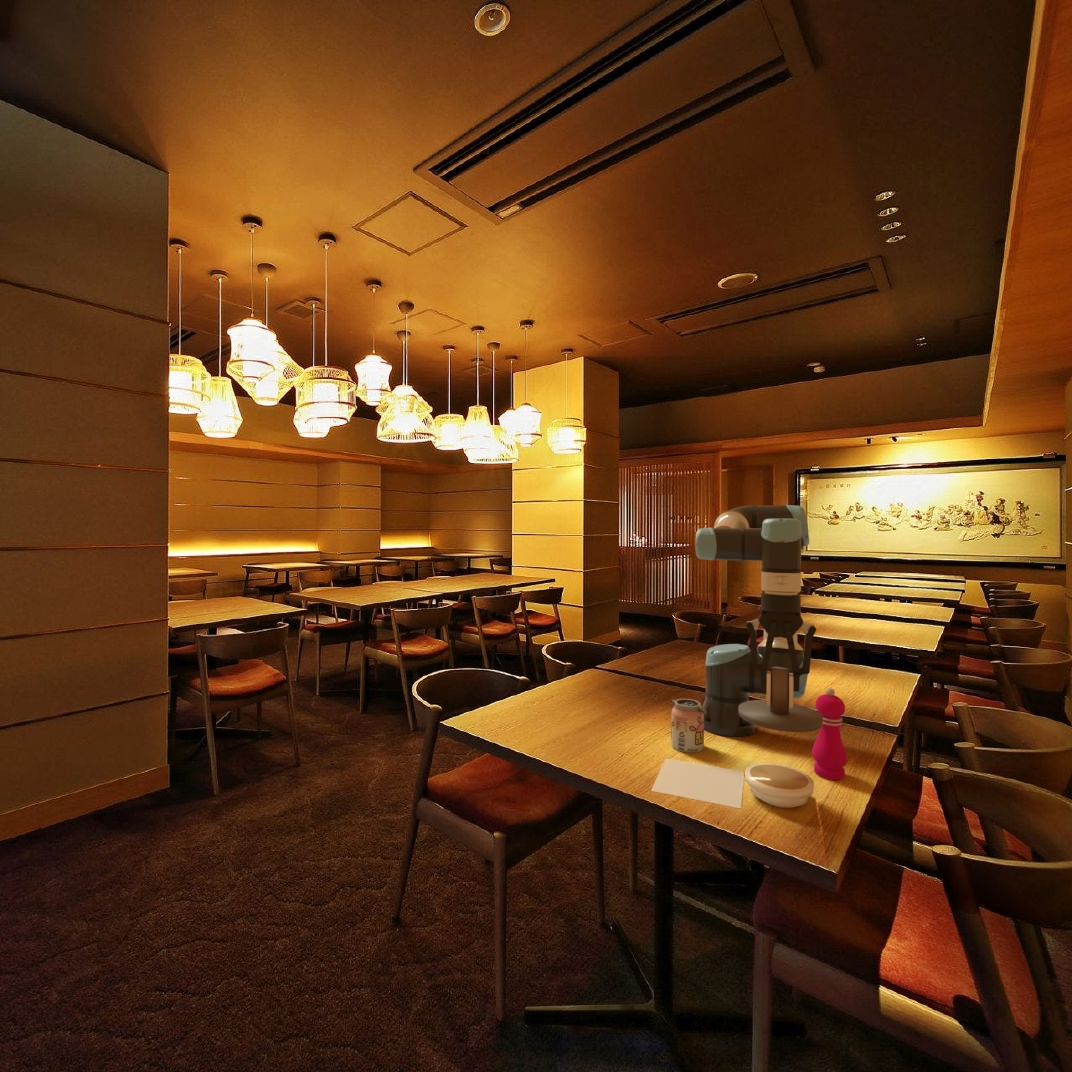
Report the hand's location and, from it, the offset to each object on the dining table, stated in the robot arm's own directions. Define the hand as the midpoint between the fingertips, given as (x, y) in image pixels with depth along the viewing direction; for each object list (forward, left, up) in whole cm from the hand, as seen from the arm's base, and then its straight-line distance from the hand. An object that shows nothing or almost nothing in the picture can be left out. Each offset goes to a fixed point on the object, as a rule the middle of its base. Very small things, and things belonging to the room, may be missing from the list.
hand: (779, 704), depth 112 cm
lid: (0, 0, -3) cm, 3 cm away
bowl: (0, 0, -20) cm, 20 cm away
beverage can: (-20, -21, -20) cm, 35 cm away
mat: (-1, -16, -20) cm, 26 cm away
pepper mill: (-18, +11, -20) cm, 29 cm away
